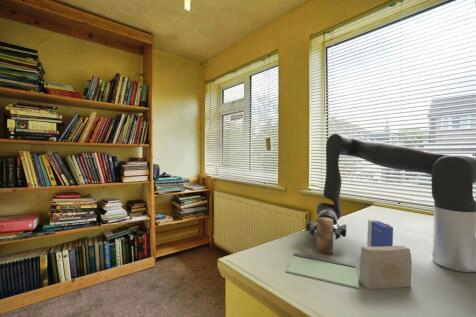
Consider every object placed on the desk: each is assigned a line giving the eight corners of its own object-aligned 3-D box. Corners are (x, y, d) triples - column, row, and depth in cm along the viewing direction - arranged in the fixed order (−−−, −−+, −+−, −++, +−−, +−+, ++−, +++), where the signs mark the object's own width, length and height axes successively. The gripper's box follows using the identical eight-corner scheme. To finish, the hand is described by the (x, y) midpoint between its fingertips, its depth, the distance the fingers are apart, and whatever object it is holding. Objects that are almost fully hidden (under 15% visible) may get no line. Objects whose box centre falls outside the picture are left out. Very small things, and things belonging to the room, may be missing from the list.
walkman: (392, 265, 67) (393, 226, 67) (383, 266, 67) (384, 226, 67) (374, 253, 75) (375, 218, 75) (366, 254, 75) (367, 218, 74)
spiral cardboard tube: (332, 249, 78) (333, 218, 78) (332, 255, 73) (333, 222, 73) (317, 247, 80) (317, 216, 80) (315, 252, 75) (316, 220, 75)
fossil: (399, 279, 60) (401, 244, 60) (411, 287, 56) (412, 249, 56) (358, 282, 58) (359, 245, 58) (367, 290, 55) (368, 251, 55)
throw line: (355, 265, 67) (355, 264, 67) (355, 267, 66) (355, 266, 66) (294, 253, 74) (294, 252, 74) (293, 255, 73) (293, 254, 73)
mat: (356, 269, 64) (356, 268, 64) (358, 288, 55) (358, 287, 55) (292, 257, 72) (292, 255, 72) (286, 272, 63) (286, 270, 63)
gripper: (308, 209, 92) (302, 220, 77) (347, 213, 86) (348, 226, 71) (308, 227, 92) (301, 242, 77) (346, 233, 86) (348, 249, 71)
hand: (324, 234), depth 74 cm, fingers open, 7 cm apart
